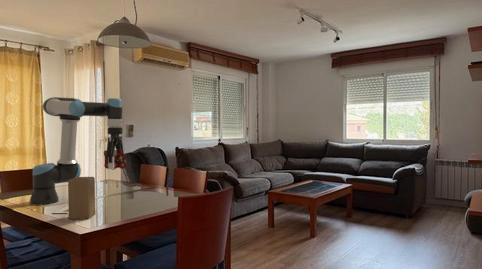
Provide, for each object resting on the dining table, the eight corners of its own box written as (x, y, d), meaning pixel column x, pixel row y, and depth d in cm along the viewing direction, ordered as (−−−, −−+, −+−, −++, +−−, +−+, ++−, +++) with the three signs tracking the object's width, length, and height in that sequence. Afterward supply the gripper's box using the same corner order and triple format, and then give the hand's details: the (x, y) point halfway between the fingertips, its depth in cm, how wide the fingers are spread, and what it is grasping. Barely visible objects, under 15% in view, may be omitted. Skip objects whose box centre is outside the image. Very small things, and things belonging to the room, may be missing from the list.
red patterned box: (129, 168, 185) (129, 149, 185) (107, 170, 176) (107, 150, 176) (122, 167, 190) (122, 148, 190) (101, 169, 181) (101, 149, 180)
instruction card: (51, 214, 178) (51, 213, 178) (69, 206, 196) (69, 205, 196) (75, 213, 178) (75, 212, 178) (91, 205, 196) (91, 205, 196)
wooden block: (76, 214, 176) (75, 176, 175) (96, 214, 176) (95, 176, 176) (68, 220, 166) (67, 179, 165) (89, 219, 166) (88, 179, 166)
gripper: (113, 127, 171) (113, 170, 171) (129, 126, 194) (129, 165, 195) (98, 127, 171) (99, 170, 171) (116, 126, 194) (116, 164, 195)
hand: (115, 167), depth 183 cm, fingers closed on red patterned box, 11 cm apart
